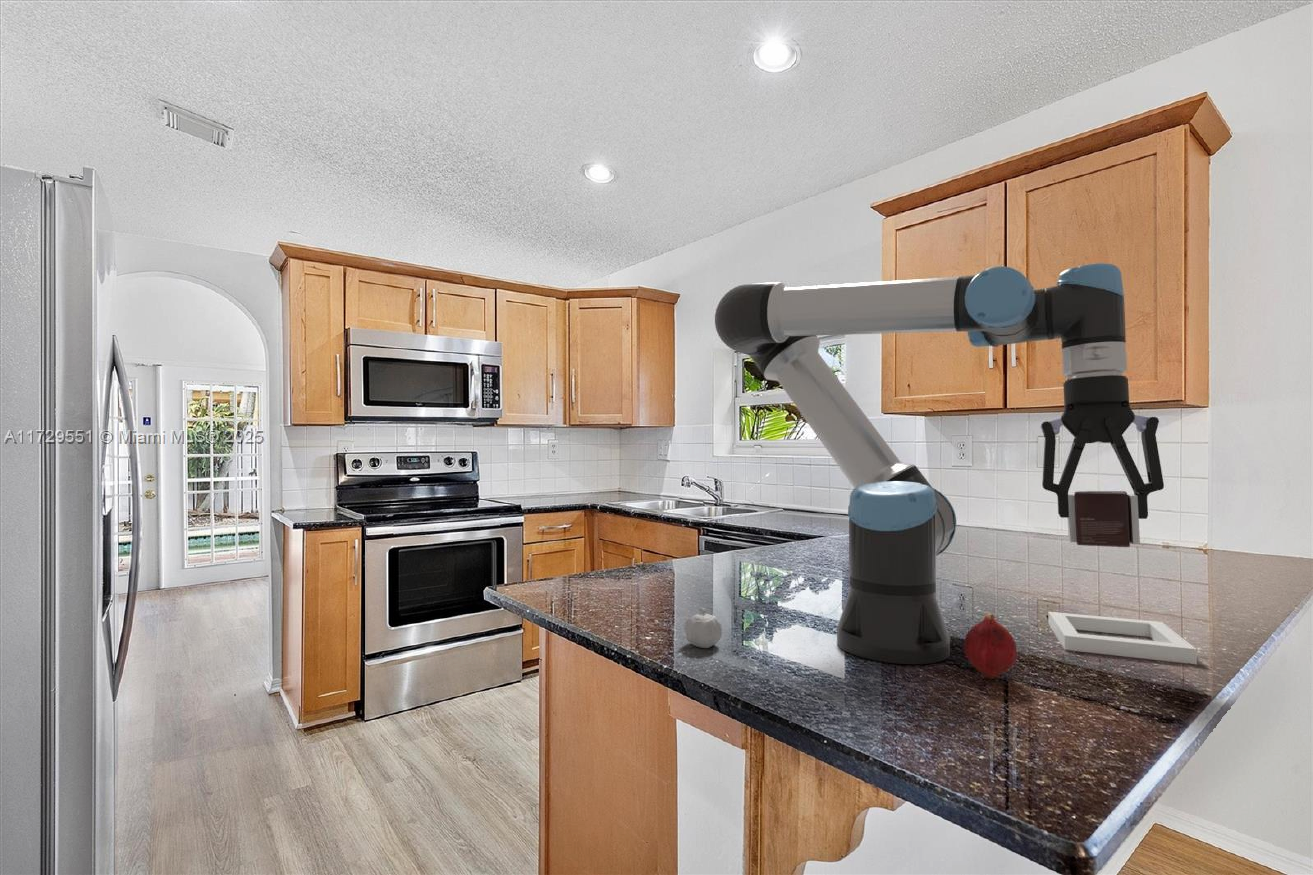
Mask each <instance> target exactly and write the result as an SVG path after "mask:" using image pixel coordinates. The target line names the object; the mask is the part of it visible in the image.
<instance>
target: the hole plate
mask: <svg viewBox="0 0 1313 875" xmlns="http://www.w3.org/2000/svg"><path fill="white" fill-rule="evenodd" d="M1048 626H1049V627H1050V628H1051V630H1052V632H1053V633H1054V635H1055V636H1056V639H1057V640H1058V641H1059V643H1060V644H1061V647H1062V648H1063V650H1065V651H1074V652H1080V653H1081V652H1083V653H1091V654H1099V655H1108V656H1119V657H1125V658H1127V657H1128V658H1135V659H1143V660H1144V659H1146V660H1155V661H1164V662H1171V661H1172V662H1173V663H1181V664H1189V663H1190V665H1191V664H1192V665H1198V649H1197V648H1196V647H1195V646H1193V645H1192V644H1191V643H1189V642H1188V641H1187V640H1186V639H1184V638H1183V637H1182V636H1180V635H1179V634H1178V633H1177V632H1175V631H1174V630H1173V629H1172V628H1170V627H1169V626H1168V625H1166V624H1165V623H1163V622H1162V621H1155V620H1147V619H1146V620H1145V619H1144V620H1143V619H1142V620H1141V619H1136V618H1135V619H1134V618H1133V619H1132V618H1131V619H1130V618H1121V617H1113V616H1112V617H1111V616H1098V615H1090V614H1081V613H1080V614H1078V613H1066V612H1057V611H1056V612H1054V611H1048ZM1077 630H1078V631H1088V632H1098V633H1107V634H1110V633H1111V634H1117V635H1118V634H1119V635H1128V636H1137V637H1148V638H1150V639H1152V640H1145V639H1144V640H1143V639H1137V638H1126V637H1125V638H1124V637H1114V636H1106V635H1105V636H1104V635H1095V634H1086V633H1085V634H1084V633H1078V632H1077ZM1172 662H1171V663H1172Z"/></svg>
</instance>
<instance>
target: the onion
mask: <svg viewBox="0 0 1313 875" xmlns="http://www.w3.org/2000/svg"><path fill="white" fill-rule="evenodd" d="M984 616H985V617H984V619H982V620H981V621H980V622H978V623H975V624H974V625H973V626H972V627H971V628H970V629H969V631H968V632H967V634H966V635H965V638H964V641H963V642H964V644H963V650H964V654H965V656H966V657H967V660H968V661H969V663H970V664H971V665H972V666H973V667H974V669H975V670H977V671H978V672H979V673H980V674H982V675H983V676H984V677H985V678H987V679H989V680H993V679H996V678H997V677H999V676H1000V675H1001V676H1002V675H1003V674H1004V673H1006V672H1007V671H1009V670H1011V668H1012V667H1013V666H1014V664H1015V661H1016V659H1017V653H1018V652H1017V651H1018V650H1017V644H1016V641H1015V639H1014V637H1013V635H1012V634H1011V633H1010V632H1009V630H1008V629H1007V628H1006V627H1005V626H1003V625H1002V624H1001V623H999V622H998V621H997V620H996V619H995V615H994V614H993V613H991V612H988V613H986V614H985V615H984Z"/></svg>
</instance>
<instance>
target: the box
mask: <svg viewBox="0 0 1313 875" xmlns="http://www.w3.org/2000/svg"><path fill="white" fill-rule="evenodd" d="M1073 495H1074V498H1075V519H1076V537H1077V542H1076V544H1077V546H1086V547H1088V546H1089V547H1090V546H1091V547H1095V546H1096V547H1109V548H1110V547H1112V548H1113V547H1114V548H1130V547H1131V542H1130V536H1129V520H1128V498H1127V495H1128V493H1127V491H1126V490H1124V491H1123V490H1119V491H1118V490H1105V491H1104V490H1102V491H1101V490H1097V491H1095V490H1088V491H1087V490H1084V491H1083V490H1082V491H1075V492H1074V493H1073Z"/></svg>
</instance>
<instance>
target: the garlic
mask: <svg viewBox="0 0 1313 875" xmlns="http://www.w3.org/2000/svg"><path fill="white" fill-rule="evenodd" d="M698 611H699V612H701V613H696V614H694V615H692V616H690V617H689V618H687V619H686V621H685V623H684V625H683V626H684V633H685V636H686V637H685V638H686V640H687V642H688V643H690V644H691V645H693V646H694V647H697V648H701V649H709V648H711V647H712V646H714V645H717V643H719V642H720V640H721V639H722V634H723V629H722V627H723V626H722V623H721V622H720V620H719V618H718V617H717V616H715V615H713V614H709V613H706V608H705V607H699V608H698Z"/></svg>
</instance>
